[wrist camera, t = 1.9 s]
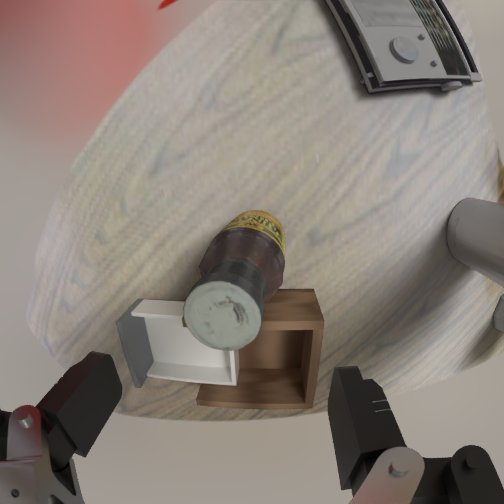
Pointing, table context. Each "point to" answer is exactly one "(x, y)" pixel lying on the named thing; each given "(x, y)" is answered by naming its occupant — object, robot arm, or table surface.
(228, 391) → the caddy
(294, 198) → the table surface
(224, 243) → the sauce bottle
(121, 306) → the table surface
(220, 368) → the tray
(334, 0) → the radio
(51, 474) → the robot arm
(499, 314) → the coffee maker
